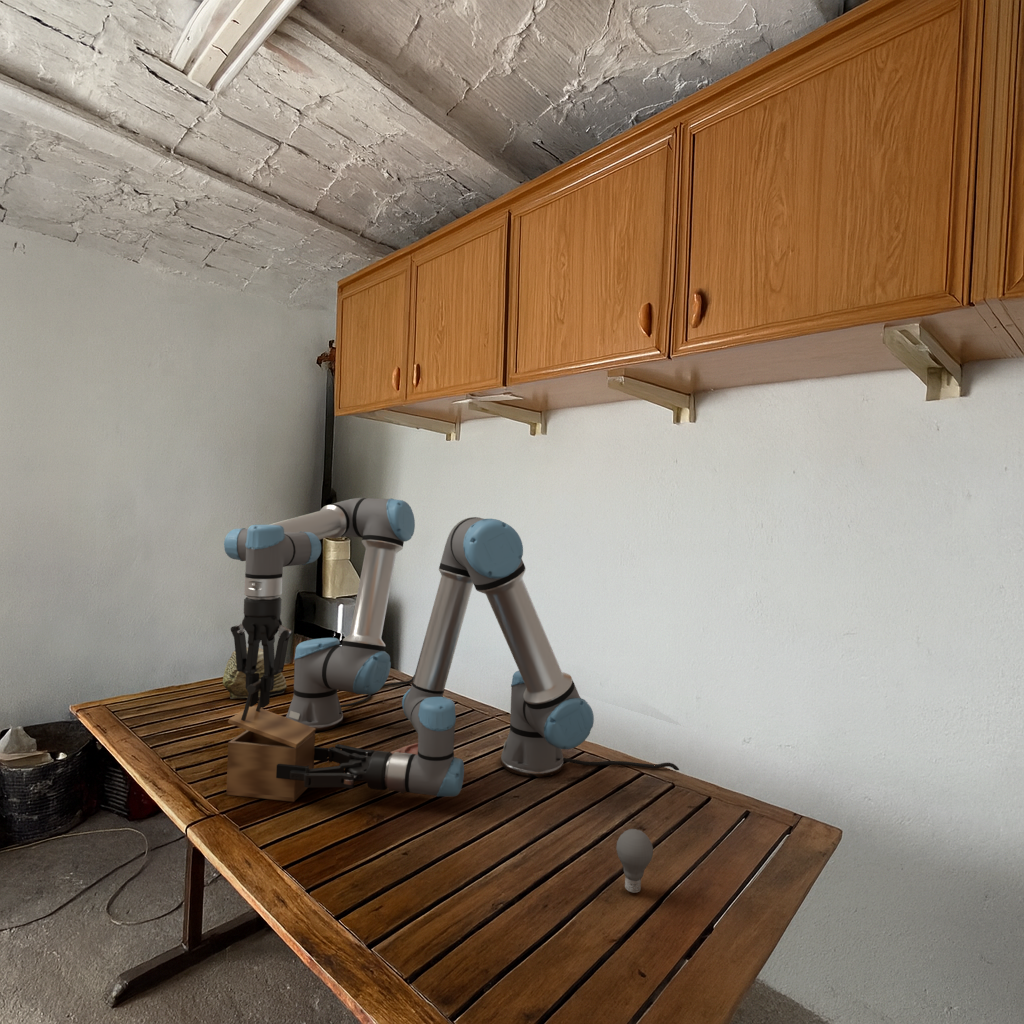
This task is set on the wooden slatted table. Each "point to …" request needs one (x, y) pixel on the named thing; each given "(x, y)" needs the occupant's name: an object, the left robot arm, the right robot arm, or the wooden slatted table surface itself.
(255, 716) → the lid
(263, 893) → the wooden slatted table surface
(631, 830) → the light bulb
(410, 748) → the anatomical model
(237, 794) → the chest
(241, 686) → the fossil
